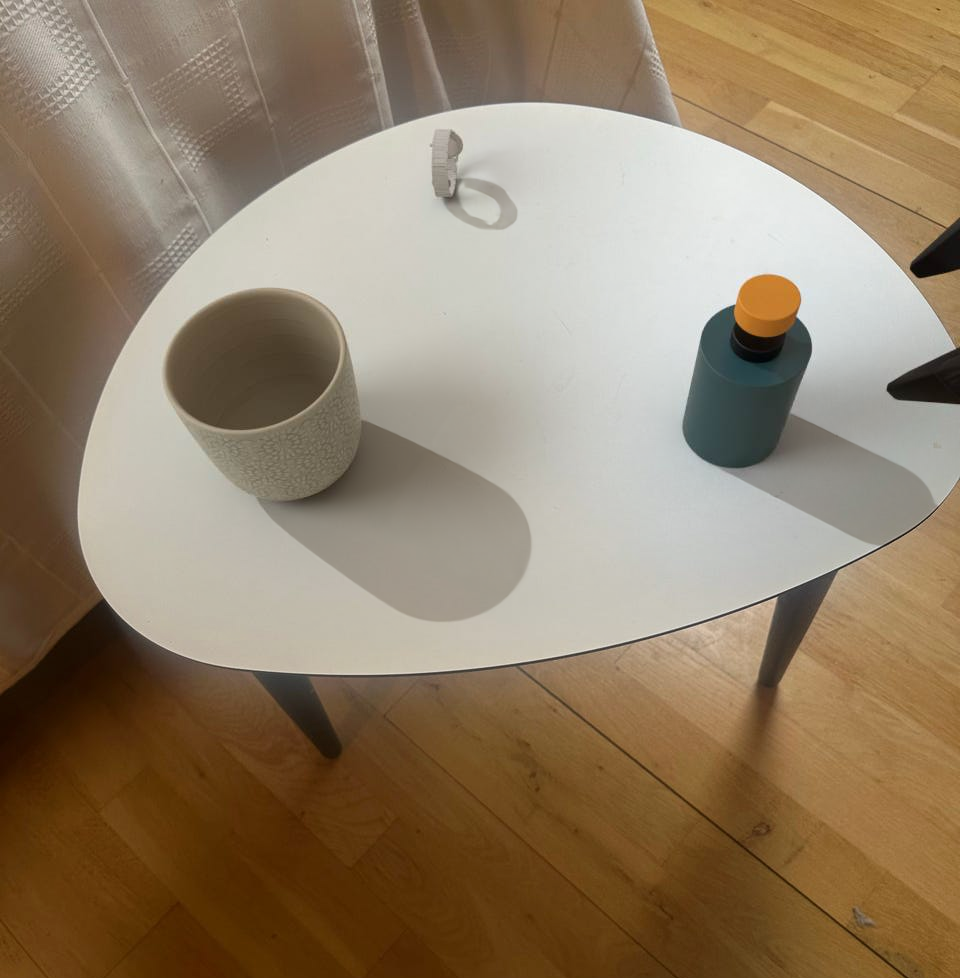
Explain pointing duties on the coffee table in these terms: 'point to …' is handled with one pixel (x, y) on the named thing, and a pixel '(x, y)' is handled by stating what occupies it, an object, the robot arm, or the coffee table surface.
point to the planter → (267, 391)
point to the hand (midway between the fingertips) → (902, 330)
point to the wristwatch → (445, 161)
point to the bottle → (742, 390)
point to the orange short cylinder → (767, 305)
